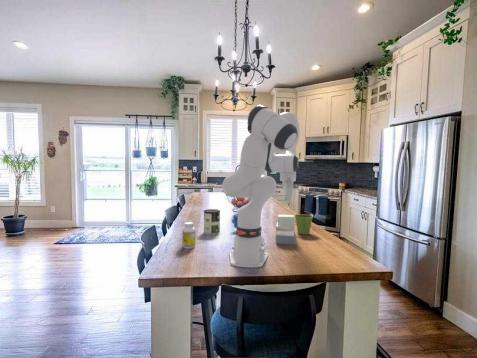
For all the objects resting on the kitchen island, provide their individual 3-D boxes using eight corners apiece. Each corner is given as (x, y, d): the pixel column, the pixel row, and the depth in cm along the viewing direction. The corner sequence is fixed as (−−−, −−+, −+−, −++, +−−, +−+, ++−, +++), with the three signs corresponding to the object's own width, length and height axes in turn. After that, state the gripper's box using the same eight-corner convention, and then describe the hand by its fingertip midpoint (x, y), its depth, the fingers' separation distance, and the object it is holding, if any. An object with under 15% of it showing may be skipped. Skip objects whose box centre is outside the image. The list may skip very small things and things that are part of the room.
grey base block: (296, 245, 147) (296, 236, 147) (275, 244, 148) (276, 235, 148) (294, 239, 158) (294, 231, 158) (275, 238, 159) (275, 230, 159)
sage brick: (294, 226, 149) (294, 217, 149) (277, 225, 150) (278, 216, 150) (293, 223, 155) (293, 215, 155) (277, 223, 156) (277, 214, 156)
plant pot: (315, 232, 172) (316, 215, 172) (309, 236, 163) (309, 218, 162) (298, 229, 179) (298, 213, 178) (290, 233, 169) (291, 216, 168)
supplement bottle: (179, 246, 141) (179, 222, 140) (190, 244, 146) (190, 220, 145) (187, 250, 136) (187, 225, 135) (197, 247, 141) (197, 223, 140)
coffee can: (220, 230, 175) (220, 209, 174) (219, 234, 165) (219, 212, 164) (204, 230, 175) (204, 208, 174) (202, 234, 165) (202, 211, 164)
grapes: (232, 232, 170) (232, 214, 169) (231, 230, 176) (231, 212, 176) (250, 232, 172) (250, 213, 171) (248, 229, 178) (249, 211, 177)
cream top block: (294, 236, 147) (294, 227, 147) (275, 235, 149) (276, 226, 148) (293, 231, 157) (293, 223, 156) (276, 230, 159) (276, 222, 158)
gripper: (295, 179, 140) (295, 205, 141) (291, 177, 161) (291, 200, 161) (283, 178, 141) (282, 204, 142) (281, 177, 161) (280, 199, 162)
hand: (287, 202), depth 152 cm, fingers open, 8 cm apart
